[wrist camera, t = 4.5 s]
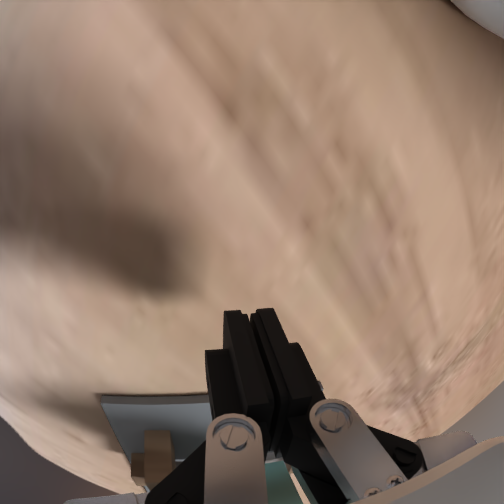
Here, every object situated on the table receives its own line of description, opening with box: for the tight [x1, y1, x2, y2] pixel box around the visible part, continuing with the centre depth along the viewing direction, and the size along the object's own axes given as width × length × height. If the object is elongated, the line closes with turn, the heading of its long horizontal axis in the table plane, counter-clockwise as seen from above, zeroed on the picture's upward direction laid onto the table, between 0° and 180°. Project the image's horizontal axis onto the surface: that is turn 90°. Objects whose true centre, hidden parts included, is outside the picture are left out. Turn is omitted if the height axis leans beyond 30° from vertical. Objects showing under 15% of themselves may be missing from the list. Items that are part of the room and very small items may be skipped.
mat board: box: [101, 381, 323, 492], centre depth 20 cm, size 18×13×1 cm
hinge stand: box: [131, 430, 293, 491], centre depth 17 cm, size 5×12×4 cm, turn 86°
